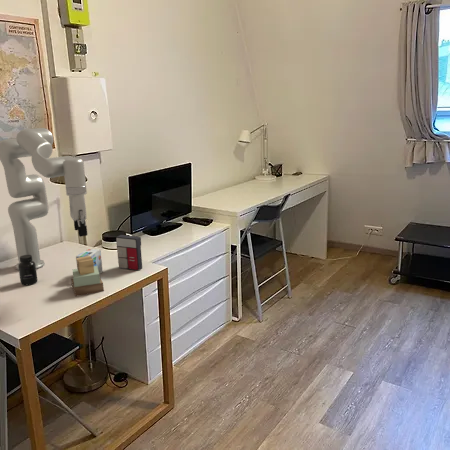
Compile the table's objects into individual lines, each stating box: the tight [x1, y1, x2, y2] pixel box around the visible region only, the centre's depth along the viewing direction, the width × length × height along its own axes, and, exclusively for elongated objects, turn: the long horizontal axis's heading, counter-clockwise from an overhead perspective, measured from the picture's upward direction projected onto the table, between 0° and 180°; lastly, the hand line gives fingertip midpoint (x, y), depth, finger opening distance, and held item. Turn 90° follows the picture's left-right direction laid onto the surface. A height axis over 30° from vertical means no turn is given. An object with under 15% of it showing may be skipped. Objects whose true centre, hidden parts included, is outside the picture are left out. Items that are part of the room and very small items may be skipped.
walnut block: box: [70, 277, 105, 297], centre depth 189 cm, size 11×11×4 cm
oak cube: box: [75, 256, 94, 275], centre depth 186 cm, size 6×6×6 cm
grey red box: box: [115, 234, 143, 271], centre depth 209 cm, size 11×4×15 cm, turn 68°
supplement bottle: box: [18, 255, 38, 286], centre depth 196 cm, size 7×7×12 cm
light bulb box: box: [75, 248, 104, 275], centre depth 202 cm, size 11×7×11 cm, turn 168°
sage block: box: [72, 266, 101, 287], centre depth 188 cm, size 10×10×4 cm
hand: (81, 232), depth 183 cm, fingers open, 9 cm apart
